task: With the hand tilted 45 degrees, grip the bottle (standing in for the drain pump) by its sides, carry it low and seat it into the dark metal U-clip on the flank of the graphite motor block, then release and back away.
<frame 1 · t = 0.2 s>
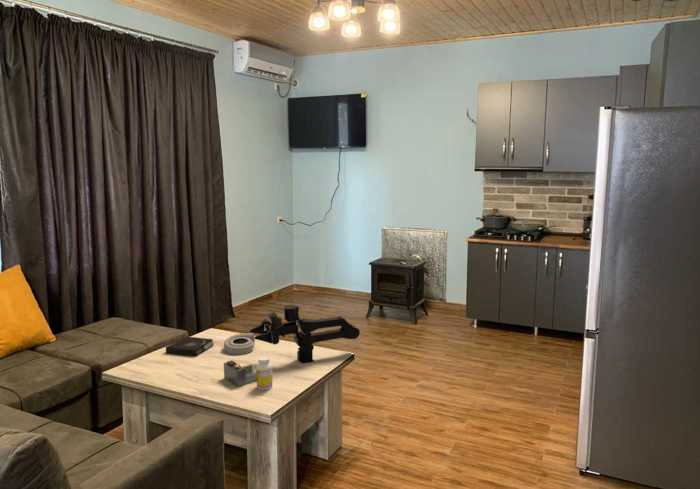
hand: (252, 334, 246), 16 cm above the table, tool horizontal, fingers open, 9 cm apart
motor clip: (248, 377, 239), on the table
supplement bottle: (264, 387, 229), on the table
portable cd player: (190, 350, 274), on the table
turbocharger housing: (239, 350, 275), on the table
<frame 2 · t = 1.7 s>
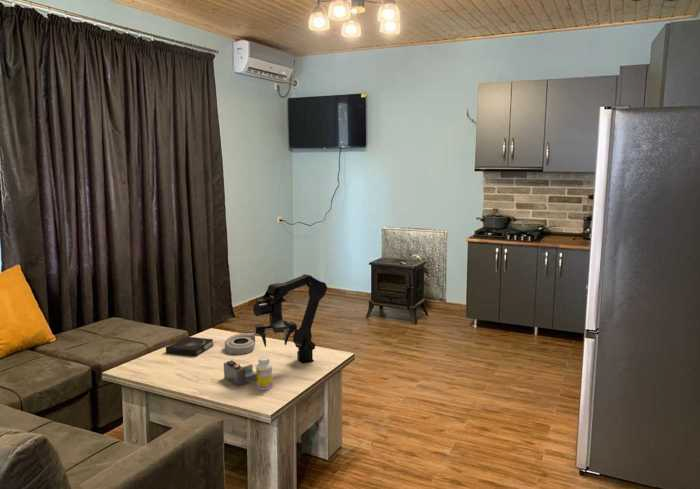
hand: (275, 345, 245), 12 cm above the table, tool pointing down, fingers open, 9 cm apart
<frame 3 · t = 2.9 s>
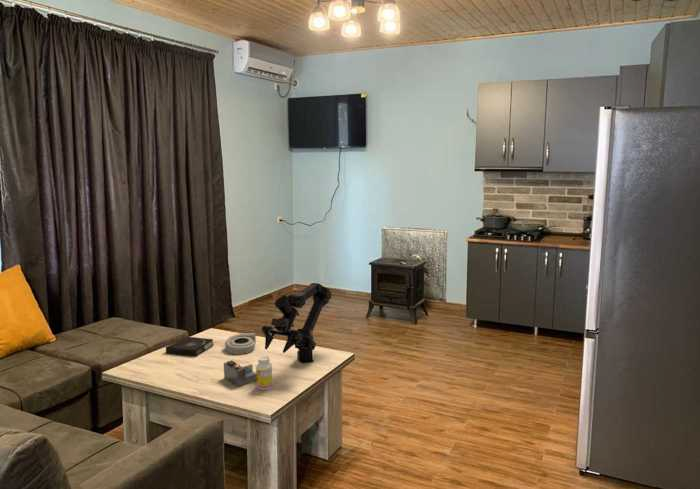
hand: (274, 350, 234), 13 cm above the table, tool tilted 45°, fingers open, 9 cm apart
nothing on the table moved.
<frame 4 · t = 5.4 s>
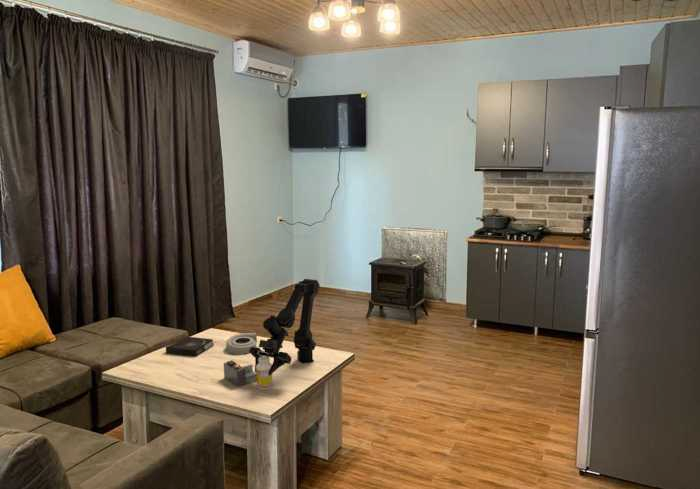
hand: (262, 373, 227), 7 cm above the table, tool tilted 45°, fingers closed on supplement bottle, 7 cm apart
supplement bottle: (264, 387, 229), on the table, touching gripper
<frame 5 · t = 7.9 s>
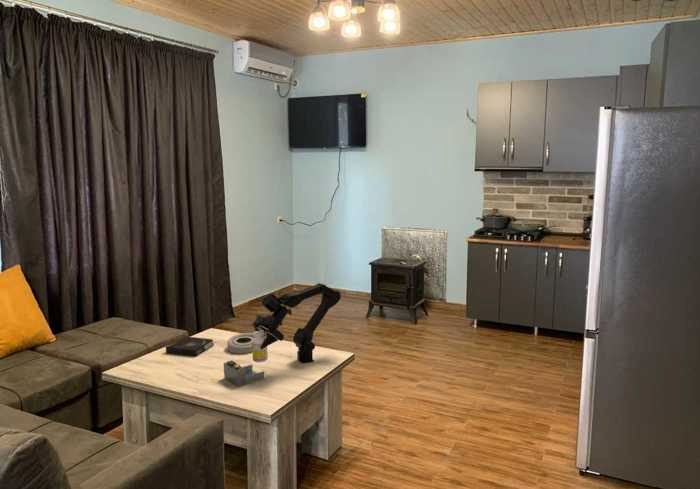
hand: (256, 346, 240), 13 cm above the table, tool tilted 45°, fingers closed on supplement bottle, 7 cm apart
supplement bottle: (260, 360, 242), point 6 cm above the table, touching gripper
when the fingers open (8 cm above the table, at t = 10.2 s): supplement bottle stays where it is, resting on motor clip.
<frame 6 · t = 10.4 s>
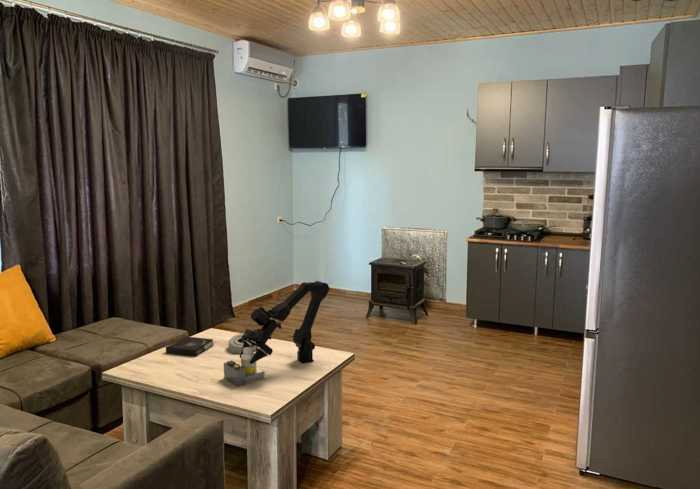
hand: (245, 360, 237), 8 cm above the table, tool tilted 45°, fingers open, 9 cm apart
supplement bottle: (249, 376, 239), resting on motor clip
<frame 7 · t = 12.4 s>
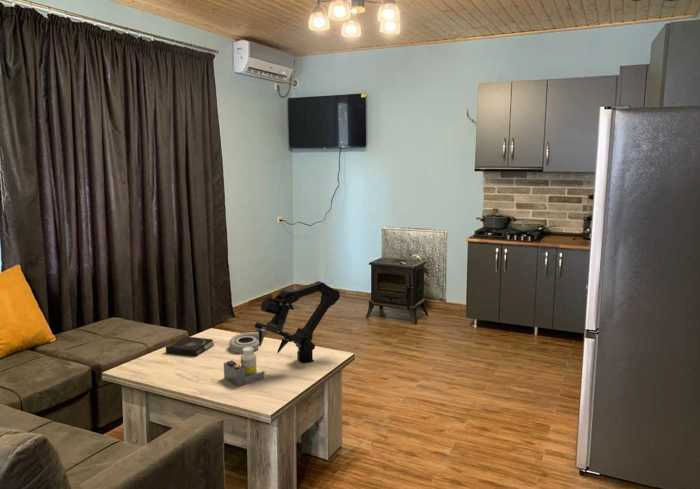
hand: (268, 349, 245), 10 cm above the table, tool tilted 25°, fingers open, 9 cm apart
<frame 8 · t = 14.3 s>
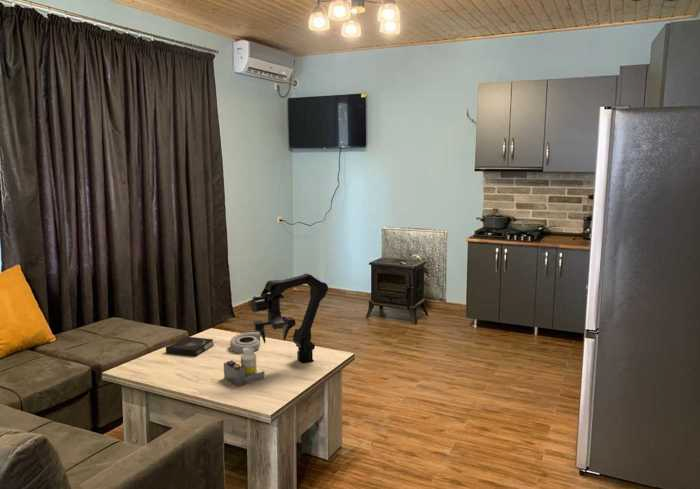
hand: (274, 341, 247), 13 cm above the table, tool pointing down, fingers open, 9 cm apart
at the end: supplement bottle 0.2 cm from the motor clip (horizontally); supplement bottle tilted 0°; the gripper is holding nothing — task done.
